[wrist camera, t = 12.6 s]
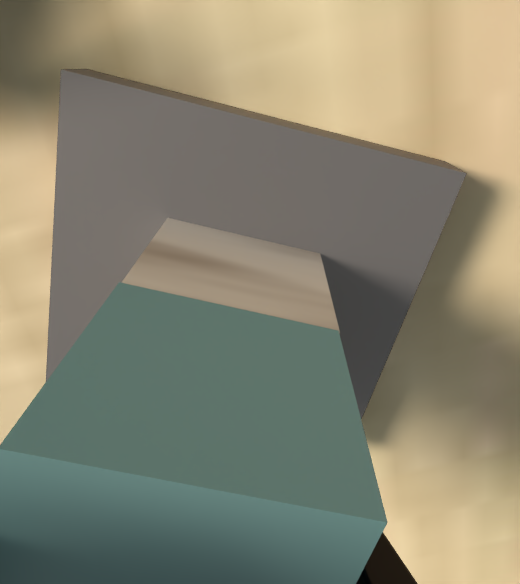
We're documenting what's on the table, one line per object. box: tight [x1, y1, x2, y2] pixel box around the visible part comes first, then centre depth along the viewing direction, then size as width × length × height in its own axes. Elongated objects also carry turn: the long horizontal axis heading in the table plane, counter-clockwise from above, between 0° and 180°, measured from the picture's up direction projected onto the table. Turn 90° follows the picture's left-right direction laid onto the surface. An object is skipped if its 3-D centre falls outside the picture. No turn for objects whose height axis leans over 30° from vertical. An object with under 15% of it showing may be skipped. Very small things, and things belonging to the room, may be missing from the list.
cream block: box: [121, 218, 340, 334], centre depth 14 cm, size 5×5×5 cm
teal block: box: [0, 282, 387, 584], centre depth 9 cm, size 5×5×5 cm
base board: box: [46, 69, 467, 419], centre depth 17 cm, size 12×12×2 cm
